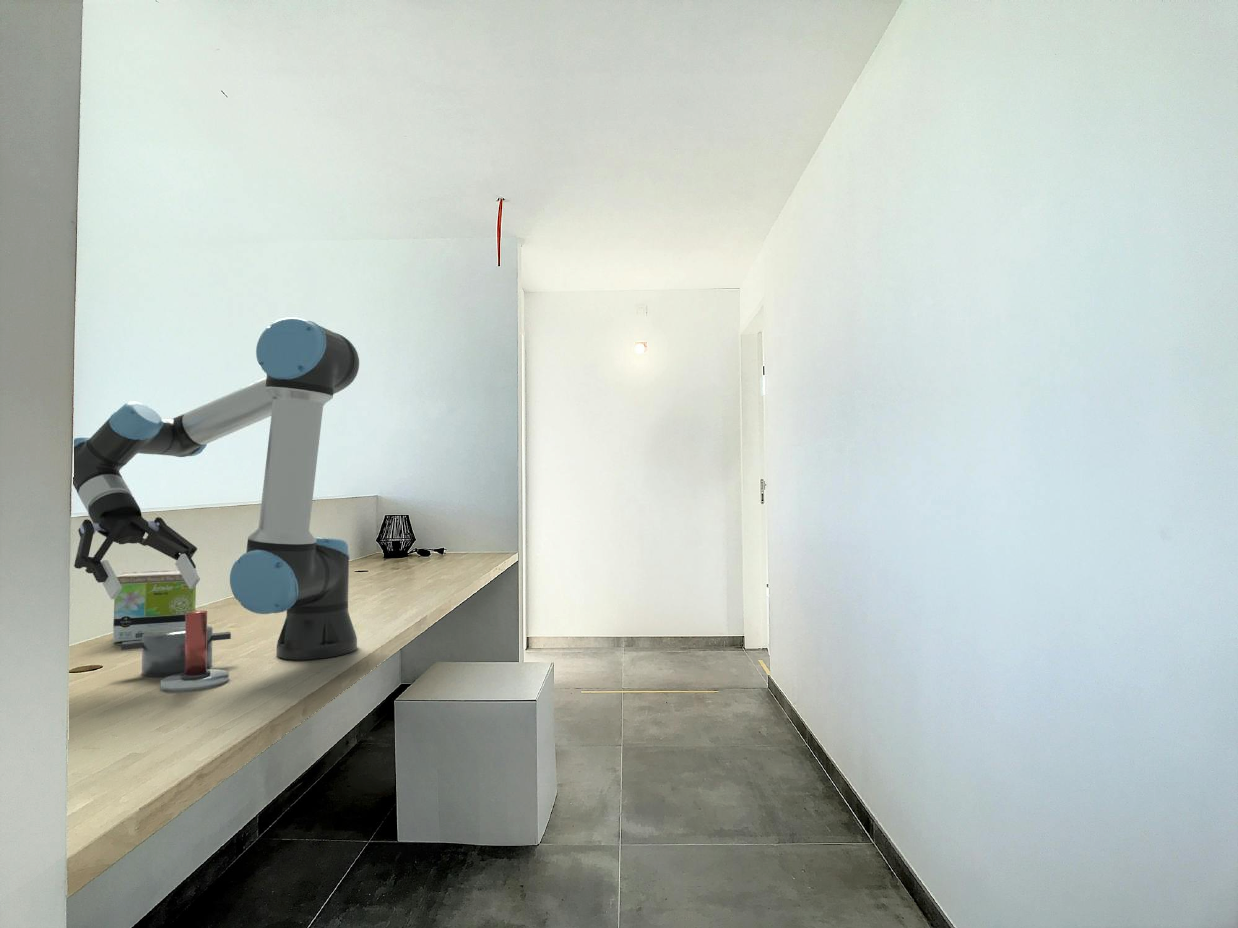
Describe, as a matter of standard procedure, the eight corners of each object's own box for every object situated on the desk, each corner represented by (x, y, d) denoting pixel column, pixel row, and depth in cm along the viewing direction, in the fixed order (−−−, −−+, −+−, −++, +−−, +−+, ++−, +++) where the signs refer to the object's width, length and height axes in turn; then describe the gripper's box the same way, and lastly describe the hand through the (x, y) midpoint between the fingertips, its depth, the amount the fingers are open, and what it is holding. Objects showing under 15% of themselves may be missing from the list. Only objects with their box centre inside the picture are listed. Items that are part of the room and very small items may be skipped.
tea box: (112, 644, 153) (113, 576, 153) (120, 635, 162) (121, 571, 162) (192, 636, 160) (193, 571, 160) (195, 629, 169) (196, 567, 169)
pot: (228, 657, 139) (229, 621, 139) (231, 669, 129) (231, 630, 130) (124, 669, 130) (124, 631, 130) (118, 682, 120) (119, 641, 121)
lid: (241, 676, 124) (242, 607, 125) (203, 692, 114) (204, 617, 115) (188, 675, 125) (189, 607, 126) (145, 691, 115) (147, 617, 116)
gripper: (168, 516, 144) (214, 593, 137) (23, 520, 122) (69, 613, 115) (185, 490, 142) (232, 567, 135) (41, 490, 120) (88, 582, 113)
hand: (157, 588), depth 125 cm, fingers open, 13 cm apart
